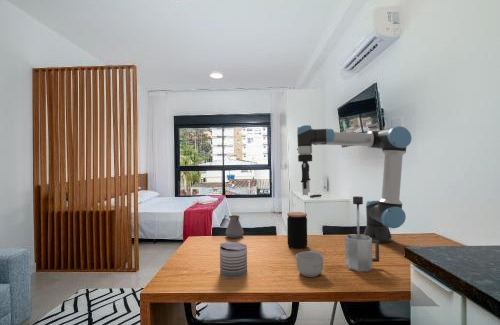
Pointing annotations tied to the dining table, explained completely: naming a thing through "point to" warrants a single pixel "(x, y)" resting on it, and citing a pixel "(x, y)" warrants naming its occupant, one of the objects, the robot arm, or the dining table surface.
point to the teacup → (309, 263)
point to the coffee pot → (234, 227)
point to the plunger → (358, 201)
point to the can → (233, 260)
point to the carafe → (360, 252)
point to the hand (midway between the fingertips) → (306, 193)
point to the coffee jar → (297, 230)
